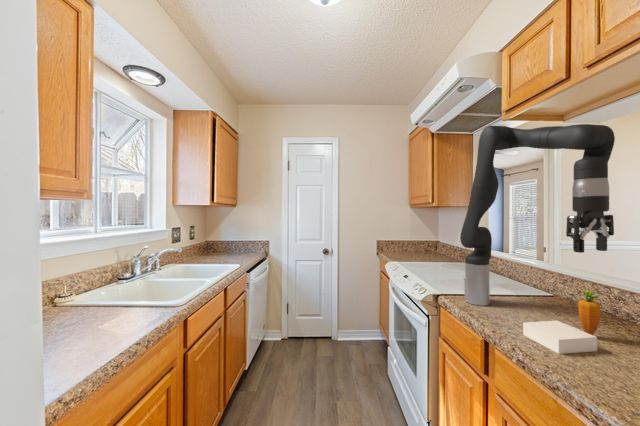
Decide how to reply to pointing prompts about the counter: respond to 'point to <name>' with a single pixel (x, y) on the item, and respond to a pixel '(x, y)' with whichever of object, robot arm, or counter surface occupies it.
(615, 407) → the counter surface
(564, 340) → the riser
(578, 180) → the robot arm
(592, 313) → the carrot
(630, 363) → the counter surface
